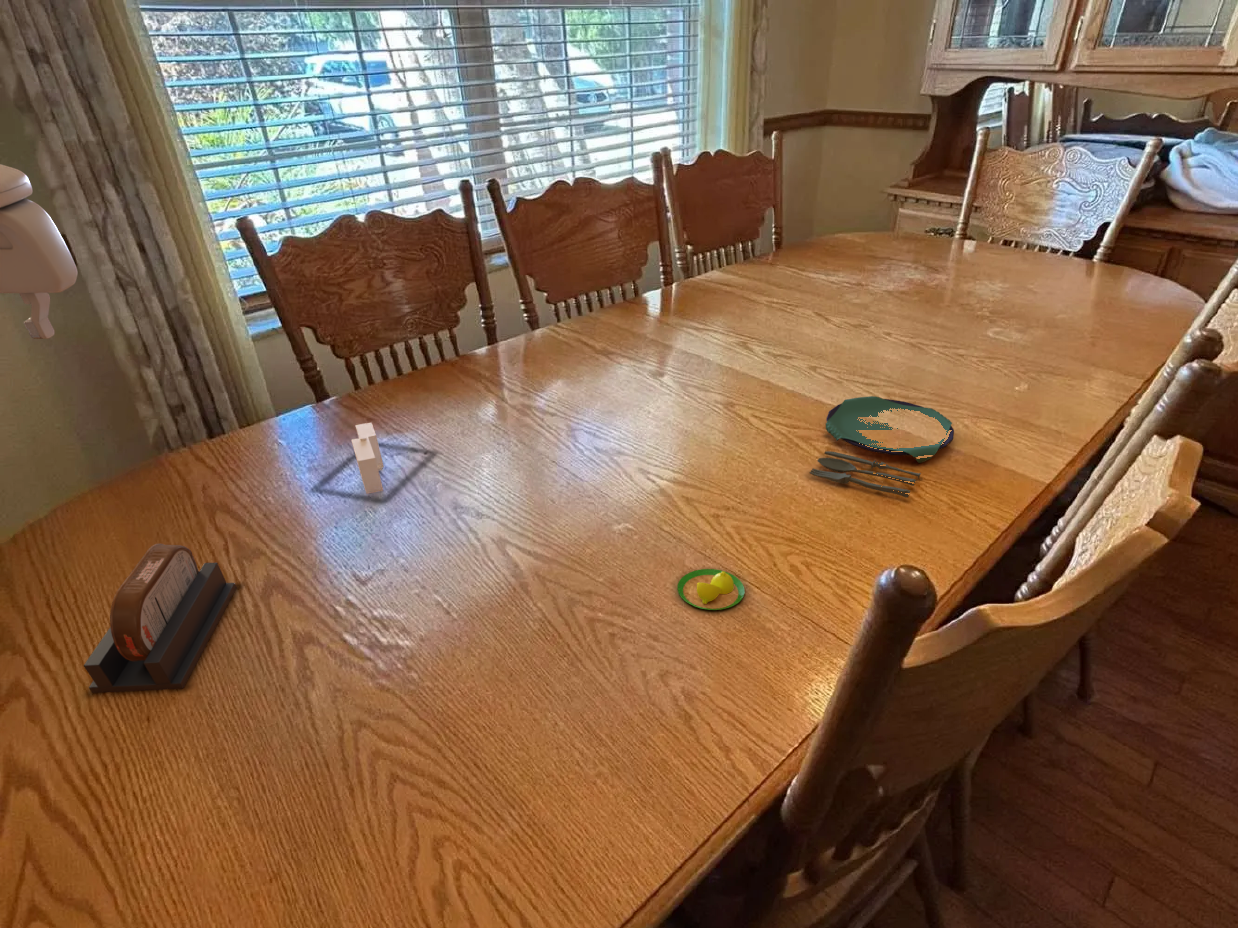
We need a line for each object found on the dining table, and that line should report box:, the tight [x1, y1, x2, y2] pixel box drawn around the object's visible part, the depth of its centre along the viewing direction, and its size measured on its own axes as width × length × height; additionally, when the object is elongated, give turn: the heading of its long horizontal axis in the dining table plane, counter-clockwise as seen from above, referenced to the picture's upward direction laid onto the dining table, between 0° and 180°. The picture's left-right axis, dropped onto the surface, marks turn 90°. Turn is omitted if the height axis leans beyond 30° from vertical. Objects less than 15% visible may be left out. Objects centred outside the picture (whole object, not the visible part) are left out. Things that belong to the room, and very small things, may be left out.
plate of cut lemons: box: [677, 568, 746, 611], centre depth 88 cm, size 8×8×3 cm
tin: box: [109, 543, 200, 661], centre depth 79 cm, size 15×3×8 cm, turn 4°
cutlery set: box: [809, 395, 955, 499], centre depth 116 cm, size 20×30×2 cm, turn 151°
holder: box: [83, 562, 238, 694], centre depth 81 cm, size 9×17×4 cm, turn 4°
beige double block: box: [350, 422, 385, 495], centre depth 108 cm, size 15×11×6 cm
